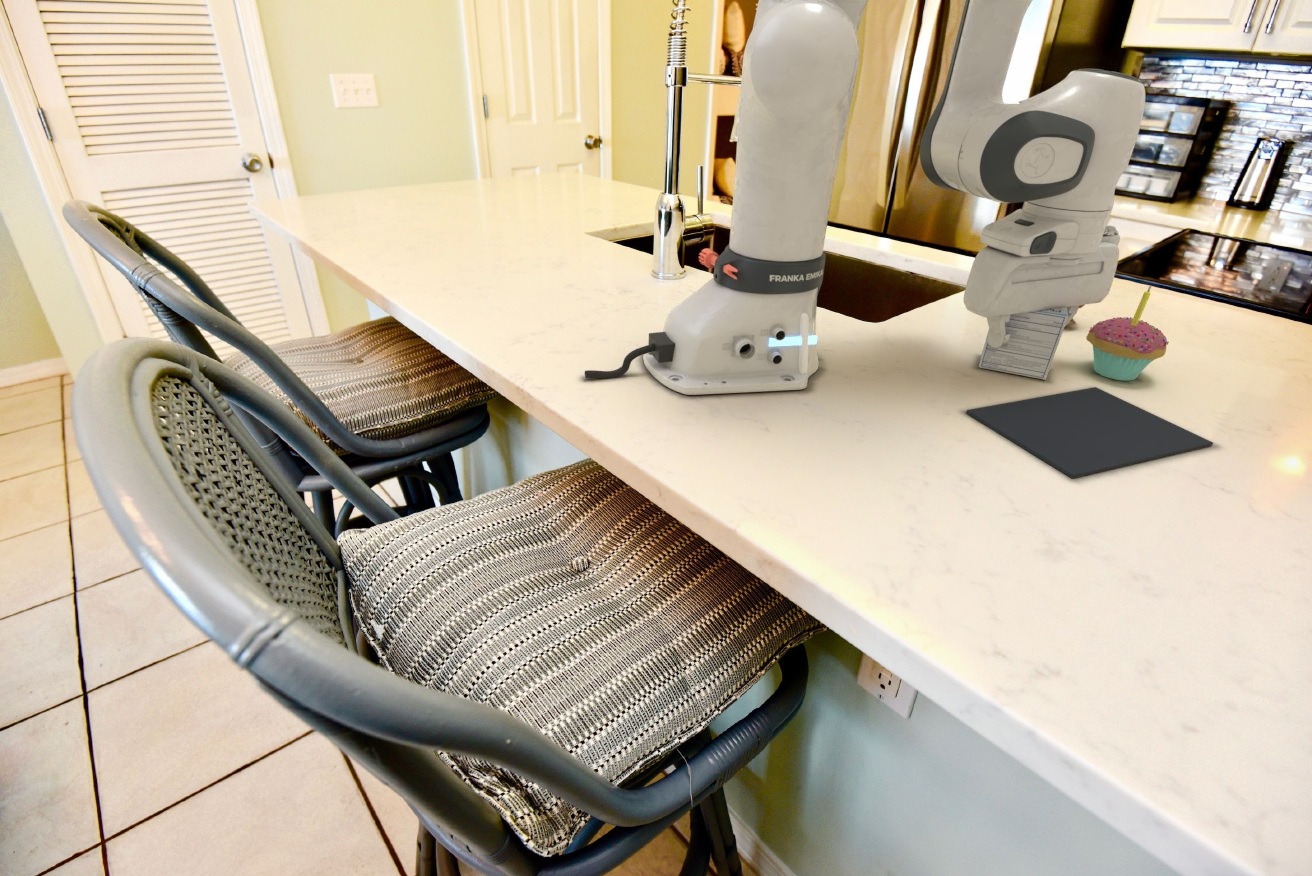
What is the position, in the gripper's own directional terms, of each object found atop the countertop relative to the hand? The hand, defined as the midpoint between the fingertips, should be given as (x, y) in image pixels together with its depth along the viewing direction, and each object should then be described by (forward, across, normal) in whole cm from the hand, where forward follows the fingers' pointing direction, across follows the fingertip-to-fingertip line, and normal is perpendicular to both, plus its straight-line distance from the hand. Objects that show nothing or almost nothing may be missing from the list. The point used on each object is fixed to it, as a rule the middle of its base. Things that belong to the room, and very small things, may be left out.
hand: (1023, 341), depth 84 cm
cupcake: (+4, -12, +5) cm, 13 cm away
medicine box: (+4, 0, 0) cm, 4 cm away
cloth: (+4, +5, +15) cm, 16 cm away
